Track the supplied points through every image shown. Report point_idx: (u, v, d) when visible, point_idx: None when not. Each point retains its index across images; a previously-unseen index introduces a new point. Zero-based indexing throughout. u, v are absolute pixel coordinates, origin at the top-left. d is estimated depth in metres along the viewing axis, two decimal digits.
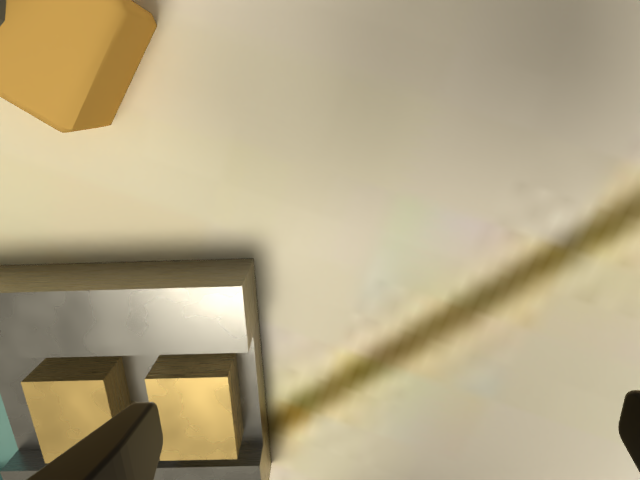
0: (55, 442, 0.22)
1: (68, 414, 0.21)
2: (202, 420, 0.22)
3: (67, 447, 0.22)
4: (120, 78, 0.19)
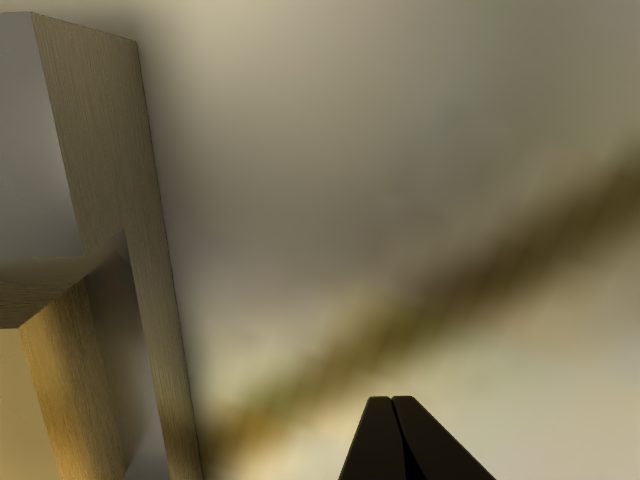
0: None
1: None
2: None
3: None
4: None
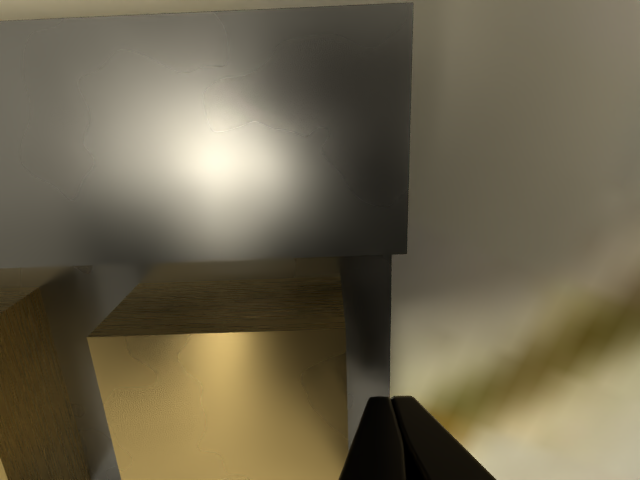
0: None
1: None
2: (260, 460, 0.07)
3: None
4: None
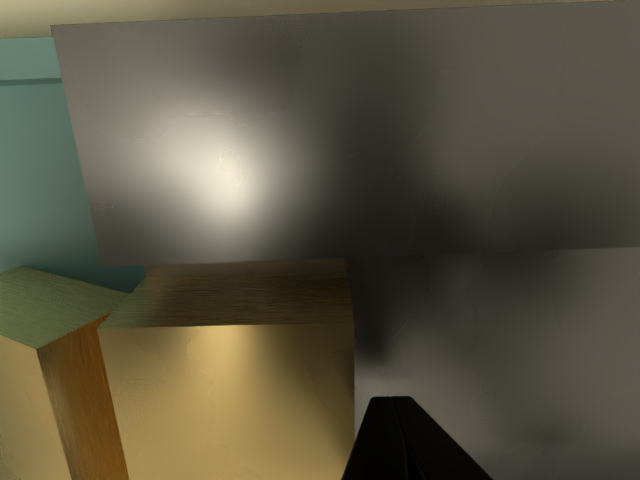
0: None
1: None
2: (267, 453, 0.07)
3: None
4: None
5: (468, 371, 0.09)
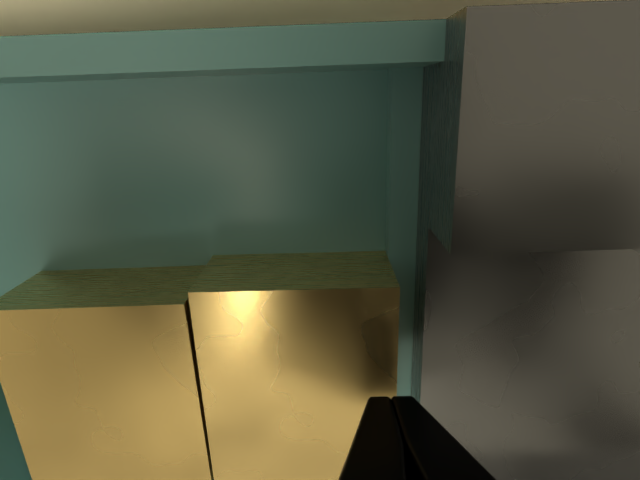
0: (64, 459, 0.09)
1: (95, 393, 0.09)
2: (322, 400, 0.09)
3: (92, 471, 0.10)
4: None
5: None
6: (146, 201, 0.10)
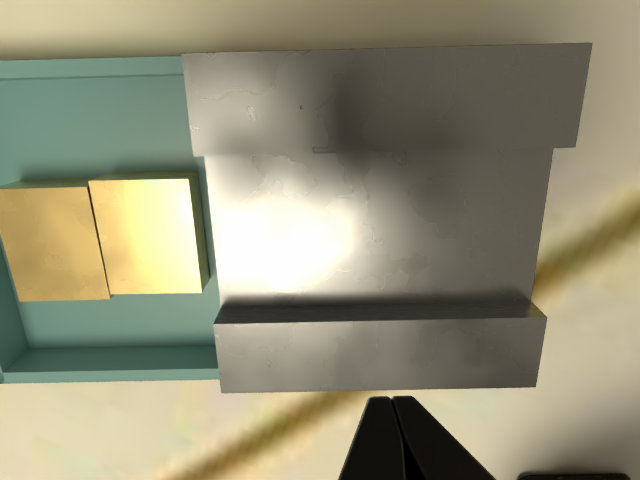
0: (31, 273, 0.19)
1: (46, 235, 0.18)
2: (159, 239, 0.18)
3: (45, 280, 0.19)
4: None
5: (366, 225, 0.18)
6: (74, 142, 0.19)
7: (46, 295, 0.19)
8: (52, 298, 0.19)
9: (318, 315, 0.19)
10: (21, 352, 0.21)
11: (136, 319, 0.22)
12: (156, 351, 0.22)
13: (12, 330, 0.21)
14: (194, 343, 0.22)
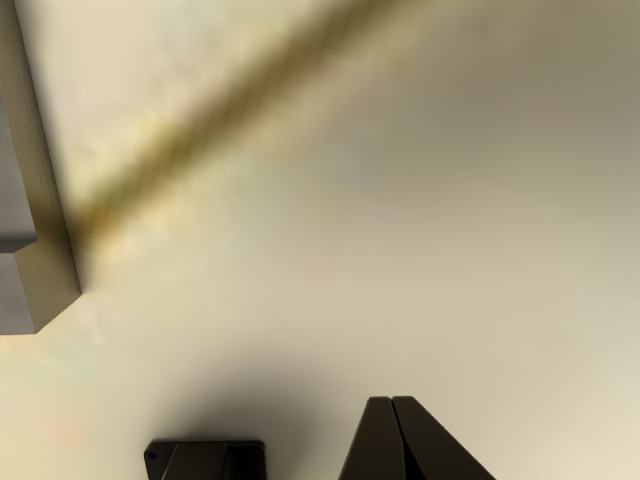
0: None
1: None
2: None
3: None
4: None
5: None
6: None
7: None
8: None
9: None
10: None
11: None
12: None
13: None
14: None
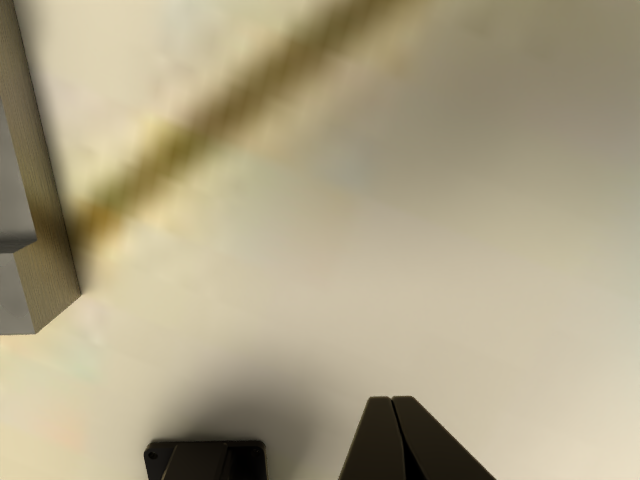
0: None
1: None
2: None
3: None
4: None
5: None
6: None
7: None
8: None
9: None
10: None
11: None
12: None
13: None
14: None
